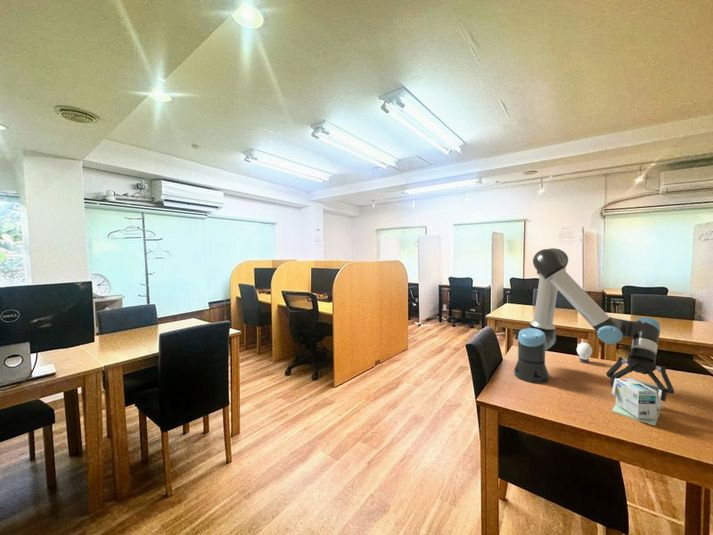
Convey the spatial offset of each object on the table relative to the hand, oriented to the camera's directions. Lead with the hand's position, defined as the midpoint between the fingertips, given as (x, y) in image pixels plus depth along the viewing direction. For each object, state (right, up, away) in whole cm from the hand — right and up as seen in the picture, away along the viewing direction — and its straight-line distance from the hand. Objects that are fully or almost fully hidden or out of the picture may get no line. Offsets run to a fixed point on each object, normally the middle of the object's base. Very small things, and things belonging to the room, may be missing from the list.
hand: (634, 400), depth 111 cm
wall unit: (+11, -5, +8) cm, 15 cm away
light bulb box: (+1, -5, +1) cm, 5 cm away
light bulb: (+20, -2, +50) cm, 54 cm away
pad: (+2, -6, +2) cm, 6 cm away
